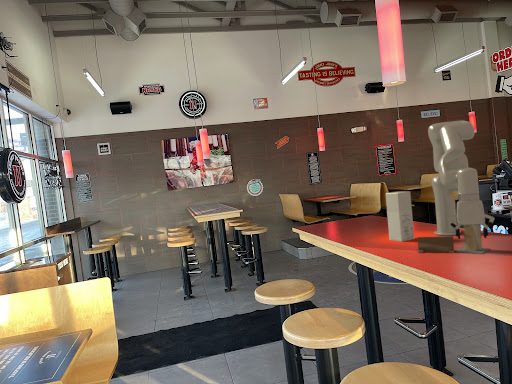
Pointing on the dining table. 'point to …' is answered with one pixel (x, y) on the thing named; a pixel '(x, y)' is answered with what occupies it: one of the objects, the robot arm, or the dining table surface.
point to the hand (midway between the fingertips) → (471, 237)
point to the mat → (472, 250)
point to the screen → (435, 244)
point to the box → (472, 237)
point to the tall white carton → (399, 216)
